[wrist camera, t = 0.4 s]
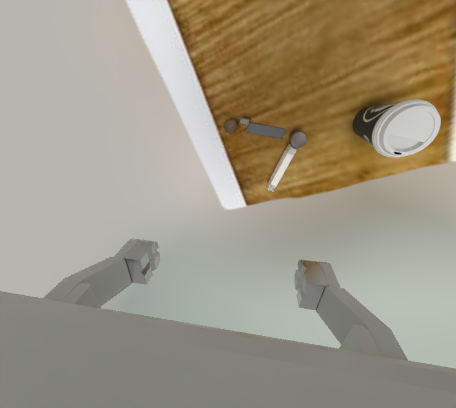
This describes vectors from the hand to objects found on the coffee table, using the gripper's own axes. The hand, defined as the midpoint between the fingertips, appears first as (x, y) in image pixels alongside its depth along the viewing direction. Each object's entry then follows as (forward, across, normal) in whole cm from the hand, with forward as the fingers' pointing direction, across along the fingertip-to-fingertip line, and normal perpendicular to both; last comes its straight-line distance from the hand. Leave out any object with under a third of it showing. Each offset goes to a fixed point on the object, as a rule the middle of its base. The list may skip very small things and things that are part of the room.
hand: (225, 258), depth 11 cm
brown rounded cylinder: (+45, +4, -2) cm, 45 cm away
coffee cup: (+45, -26, -4) cm, 52 cm away
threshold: (+45, -3, -1) cm, 45 cm away
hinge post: (+45, -11, 0) cm, 46 cm away
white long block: (+44, -8, +8) cm, 45 cm away
